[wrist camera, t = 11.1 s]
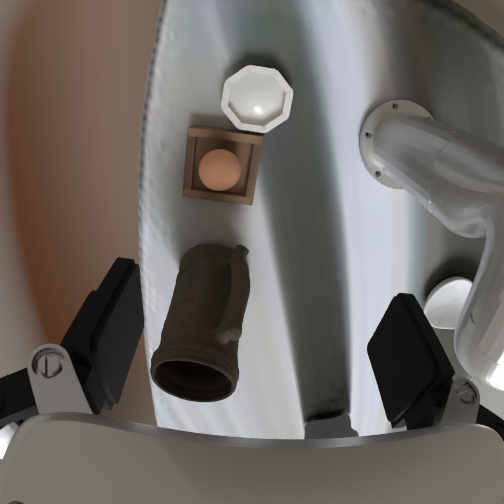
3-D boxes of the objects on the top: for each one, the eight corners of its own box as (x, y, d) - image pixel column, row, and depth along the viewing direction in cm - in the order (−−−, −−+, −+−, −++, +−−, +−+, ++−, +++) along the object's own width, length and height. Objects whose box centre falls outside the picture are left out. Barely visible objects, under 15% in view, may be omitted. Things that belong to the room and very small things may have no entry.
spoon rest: (407, 310, 52) (420, 337, 46) (439, 261, 46) (458, 285, 40) (475, 323, 55) (488, 344, 49) (502, 284, 49) (519, 304, 43)
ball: (244, 148, 36) (242, 157, 32) (239, 185, 39) (235, 199, 34) (205, 143, 36) (196, 151, 31) (201, 180, 38) (192, 193, 34)
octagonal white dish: (294, 73, 32) (296, 73, 30) (283, 134, 36) (285, 136, 34) (228, 63, 31) (227, 62, 29) (219, 124, 35) (218, 126, 34)
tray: (263, 134, 36) (263, 137, 34) (252, 199, 41) (252, 205, 39) (191, 125, 35) (188, 127, 33) (185, 191, 40) (182, 196, 38)
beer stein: (231, 309, 51) (223, 414, 34) (171, 287, 49) (139, 389, 31) (272, 236, 43) (283, 343, 26) (202, 207, 41) (167, 305, 24)
